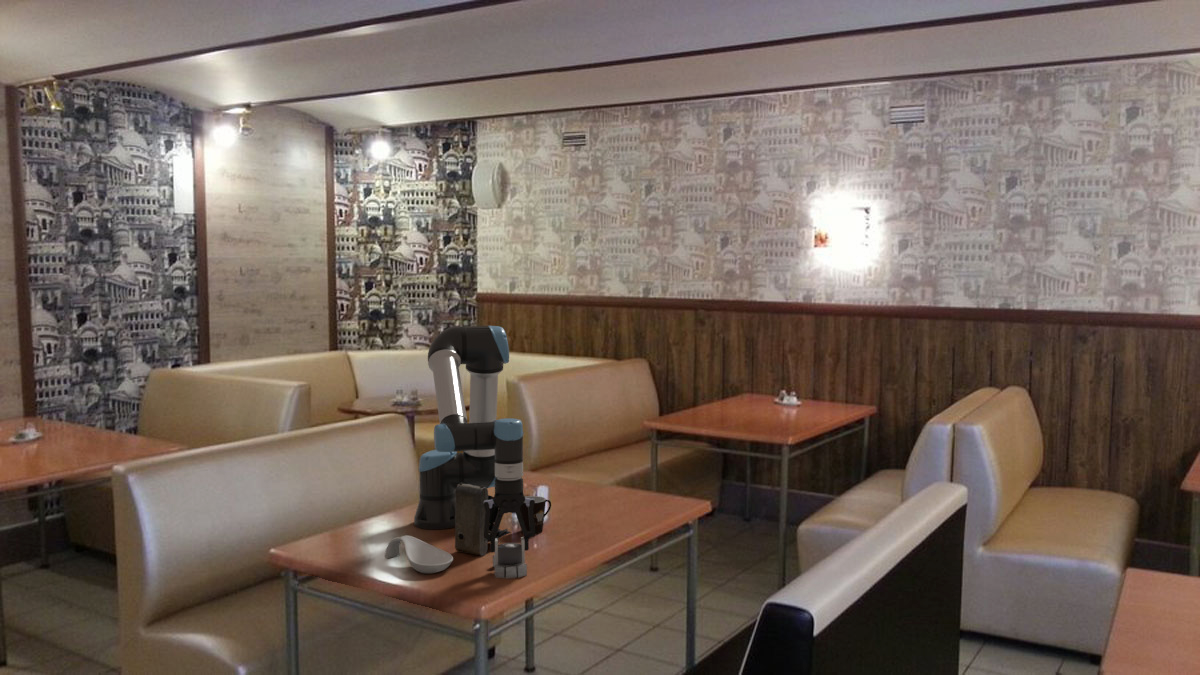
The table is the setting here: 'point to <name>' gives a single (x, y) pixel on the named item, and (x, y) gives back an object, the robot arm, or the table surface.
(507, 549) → the cap
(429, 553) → the spoon rest
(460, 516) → the vintage camera
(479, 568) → the table surface
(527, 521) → the coffee mug
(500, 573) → the grey segmented ring
